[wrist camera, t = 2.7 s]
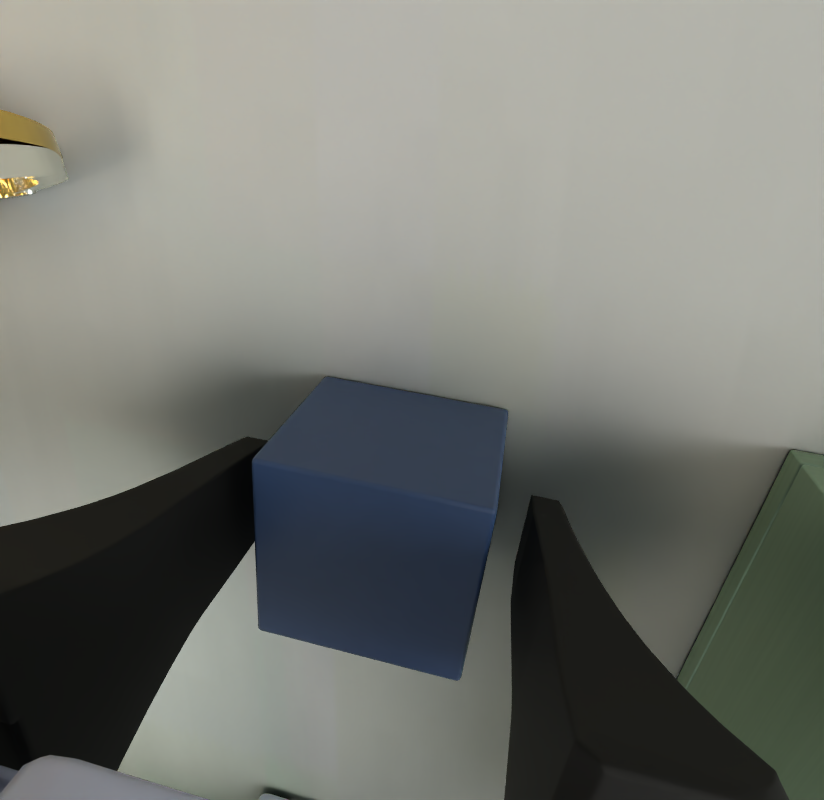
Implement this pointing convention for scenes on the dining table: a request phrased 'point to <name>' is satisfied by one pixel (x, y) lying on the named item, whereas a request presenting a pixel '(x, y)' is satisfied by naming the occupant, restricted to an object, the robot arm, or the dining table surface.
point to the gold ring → (27, 157)
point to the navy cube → (378, 522)
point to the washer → (773, 634)
